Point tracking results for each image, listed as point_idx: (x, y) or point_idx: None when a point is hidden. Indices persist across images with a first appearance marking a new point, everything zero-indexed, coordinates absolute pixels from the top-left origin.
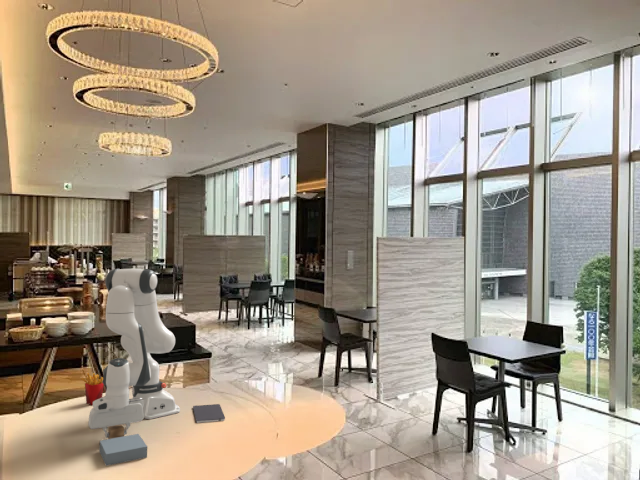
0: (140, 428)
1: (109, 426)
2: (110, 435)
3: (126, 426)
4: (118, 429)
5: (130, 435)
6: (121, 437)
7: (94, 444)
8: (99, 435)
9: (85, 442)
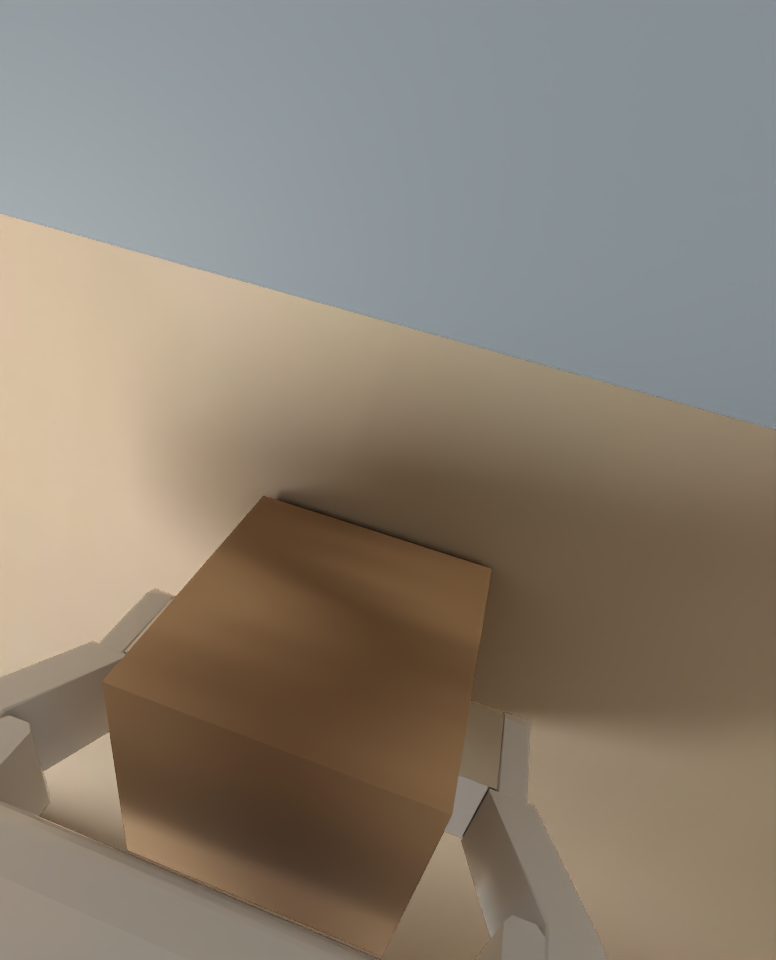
0: (8, 673)
1: (365, 942)
2: (469, 696)
3: (64, 733)
4: (250, 729)
5: (26, 194)
6: (346, 230)
7: (702, 720)
8: (458, 850)
9: (737, 847)
